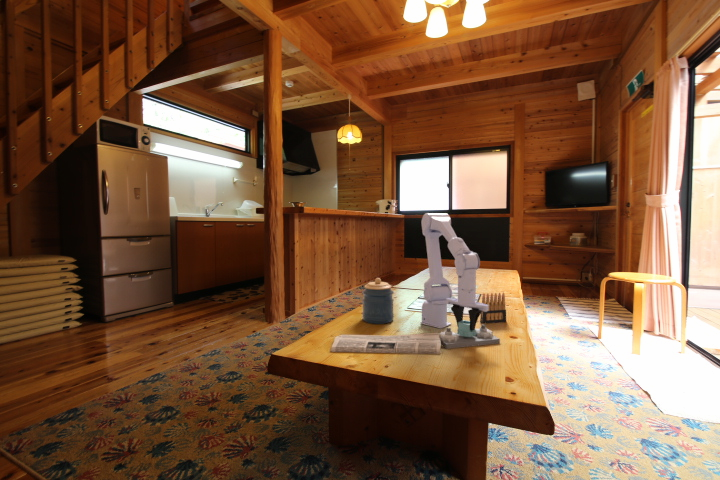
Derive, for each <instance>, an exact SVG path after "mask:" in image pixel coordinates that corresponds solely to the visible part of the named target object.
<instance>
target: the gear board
mask: <svg viewBox="0 0 720 480" xmlns="http://www.w3.org/2000/svg"><path fill="white" fill-rule="evenodd" d="M475 329H476V334H475V336H472V337H465V336H461V335H459V334H457V332H454V331H452V328H451V327H446V330H444V331H441V332H440V333H439V332H438V333H439V337H440V341H441V347H444V348H445V349H446V350H448V349H449V350H451V349H458V348H469V347H478V346H487V345H496V344H500V343H501V340H500V338H499V337H497V336H495V335H494V333H493V332H494V331H492V330H490V329H488V327H486V324H481V325H480V327H479V328H475Z"/></svg>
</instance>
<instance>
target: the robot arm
mask: <svg viewBox="0 0 720 480" xmlns="http://www.w3.org/2000/svg"><path fill="white" fill-rule="evenodd" d="M421 230H422V231H421V232H422V235H423V236H424V237H425V246H426V253H427V263H428V270H429V272H428V273H429V278H428V279H427V280H426V281H425V282H424V283H423V298H424V300H425V301H423V302H422V305H421V321H420V324H421V325H426V326H430V327H434V328H438V329H444V328H445V327H446V328H447V327H448V326H451V325H452V323H451V322H448V305H452V306H451V307H450V309H451V312H452V314H453V315H454V318H455V323H456V324H457V325H456V326H457V327H458V322H460V321H463V320H464V312H465V308H468V310H467V312H468V316H469V321H470V331H473V330H475V329H476V325H477V323H478V319H480V317H481V312H482V311H484V312H487V311H489V305H486V304H483V303H482V302H479V301H476V298H477V297H476V291H477V290H476V288H477V281H476V280H477V270H478V269H479V268H480V266H481V259H480V257H479V253H477V252H474V251H473V250H470V248H469V247H468V246H467V244H466V243H465V241H464V239H463V238H461V237H458V236H457V234H456V232H455V230H454V228H453V227H452V219H451V216H450V215H449V214H448V213H446V212H445V213H429V212H425V213H424V214H423V215H422V218H421ZM441 236H443V237H444V238H445V240H446V241H447V242H448V243H447V248H448V250H449V252H450V253H451V254H452V256H453V258H454V262H453V263H454V266H455V267H454V268H456V269H455V270H456V275H457V298H454V297H453V291H452V288H451V286H450V281H449V280H448V279H446V278H445V276H444V274H443V265H442V257H441V249H440V239H439V238H440V237H441Z"/></svg>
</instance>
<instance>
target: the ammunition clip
mask: <svg viewBox="0 0 720 480" xmlns="http://www.w3.org/2000/svg"><path fill="white" fill-rule="evenodd" d="M489 294H490V295H489ZM481 303H483V304H486V305H489V311H487V312H484V311H482V312H481V314H480V316H479V319H480V320H479V321H480V323H481V324H482V325H486V324H496V323H507V309H506V295H505V291H504V292H502V294H501V292H499V293H498V294H497V292H495V293H494V294H493V293H492V292H491V293H486V295H485V293H482V298H481Z"/></svg>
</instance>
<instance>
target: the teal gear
mask: <svg viewBox="0 0 720 480" xmlns="http://www.w3.org/2000/svg"><path fill="white" fill-rule="evenodd" d="M476 329H477V328H475V330H473V331H470V320H465V319H463V321H460V322H458V326H457V332H456V333H457V334H459V335H461V336H465V337H472V336H475V334H476Z"/></svg>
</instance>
